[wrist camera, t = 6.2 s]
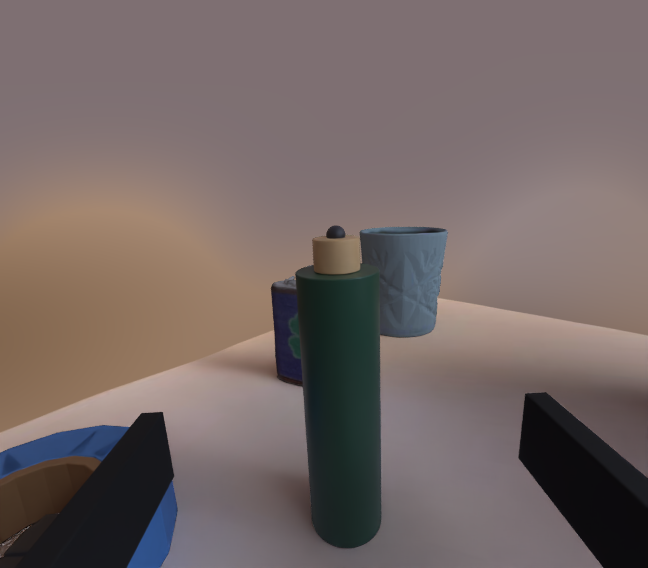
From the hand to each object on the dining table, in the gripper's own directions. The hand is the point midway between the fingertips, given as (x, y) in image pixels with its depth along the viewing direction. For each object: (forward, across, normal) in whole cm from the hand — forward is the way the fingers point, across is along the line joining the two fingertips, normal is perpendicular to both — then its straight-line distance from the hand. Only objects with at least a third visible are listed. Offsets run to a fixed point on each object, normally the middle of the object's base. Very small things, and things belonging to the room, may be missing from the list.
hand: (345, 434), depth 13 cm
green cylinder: (+4, 0, -8) cm, 8 cm away
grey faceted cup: (+31, +9, -8) cm, 33 cm away
